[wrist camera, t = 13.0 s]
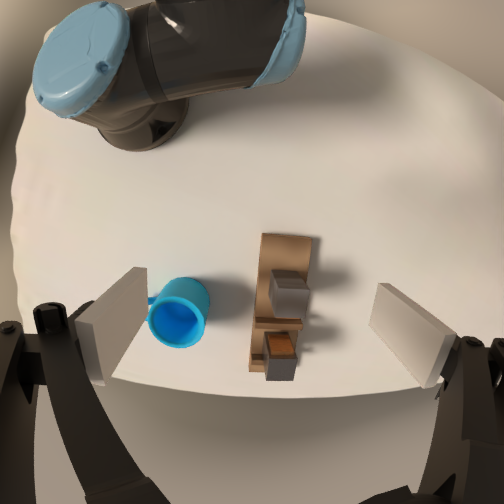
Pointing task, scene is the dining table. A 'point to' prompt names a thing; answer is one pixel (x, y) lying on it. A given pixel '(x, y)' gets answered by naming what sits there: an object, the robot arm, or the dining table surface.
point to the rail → (263, 308)
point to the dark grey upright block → (278, 356)
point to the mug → (179, 313)
